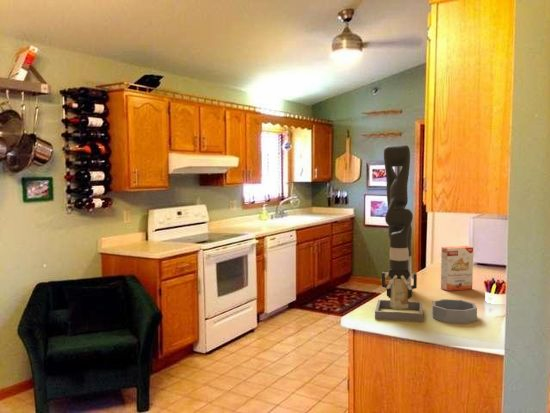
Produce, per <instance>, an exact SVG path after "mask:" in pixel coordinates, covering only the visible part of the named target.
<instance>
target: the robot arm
mask: <svg viewBox="0 0 550 413" xmlns="http://www.w3.org/2000/svg"><path fill="white" fill-rule="evenodd" d="M383 162H384V168H385V169H384V170H385V177H386V202H387V210H386V213H385V218H384V221H385V223H386V225H387V226H388V239H389V256H388V257H389V271H388V272H385V271H382V272H381V287H382V288H385V289H386V297H388V299H390V287H391V285H392V284H393V279H396V278H397V279H402V280H403V281H404V283H405V284H406V286H407V287H408V288H409V289H408V300H410V299H411V298H412V297H413V290H414V289H417V286H418V283H417V281H418V277H417V276H418V274H417V272H414V273H412V238H413V237H412V236H413V233H412V231H413V228H412V222H413V218H414V215H413V212H412V211H411V209H408V208H406V206H407V205H408V202H409V200H408V183H409V182H408V181H409V176H410V165H411V151H410V146H408V145H406V144H400V145H399V144H397V145H386V146H385V147H384V149H383ZM394 167H395V168H397V167H401V170H400V171H399V173H398V175H397V173H396V171H395V169H394ZM388 277H390V278H391V279H392V280H391V281H390V280H389V282H388V283H386V279H387V278H388ZM407 279H409V282H407ZM412 280H413V284H412Z"/></svg>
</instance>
